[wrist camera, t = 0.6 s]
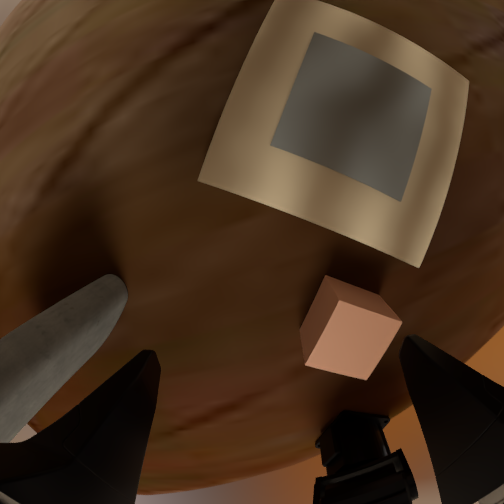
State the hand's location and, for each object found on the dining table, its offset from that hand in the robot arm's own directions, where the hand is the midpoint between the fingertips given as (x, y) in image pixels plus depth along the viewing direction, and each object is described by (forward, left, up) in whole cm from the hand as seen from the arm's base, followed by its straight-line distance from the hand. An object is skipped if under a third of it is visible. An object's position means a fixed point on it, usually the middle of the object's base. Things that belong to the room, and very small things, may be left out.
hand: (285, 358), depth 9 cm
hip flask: (+15, +14, -12) cm, 24 cm away
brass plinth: (-1, -12, -12) cm, 17 cm away
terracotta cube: (-6, +2, -12) cm, 14 cm away
